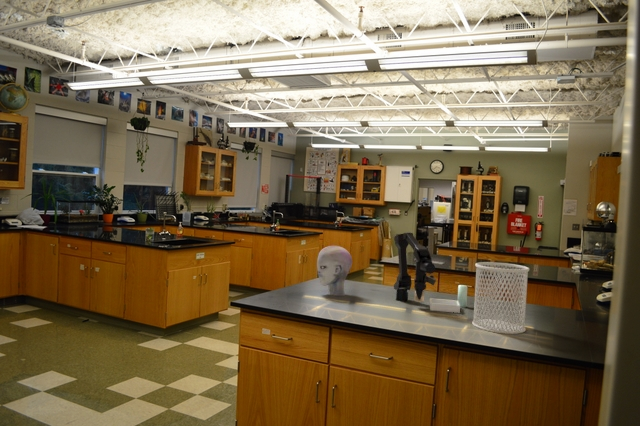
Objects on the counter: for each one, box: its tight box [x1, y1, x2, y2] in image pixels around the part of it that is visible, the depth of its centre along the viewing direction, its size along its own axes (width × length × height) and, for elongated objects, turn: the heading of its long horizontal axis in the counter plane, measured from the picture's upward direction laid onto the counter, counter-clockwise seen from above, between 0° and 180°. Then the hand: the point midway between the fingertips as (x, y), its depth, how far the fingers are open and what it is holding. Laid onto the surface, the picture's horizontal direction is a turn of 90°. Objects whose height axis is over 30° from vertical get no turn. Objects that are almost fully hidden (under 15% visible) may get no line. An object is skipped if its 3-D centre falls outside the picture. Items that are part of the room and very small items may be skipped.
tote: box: [429, 297, 461, 314], centre depth 262 cm, size 16×14×4 cm
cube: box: [414, 290, 425, 303], centre depth 261 cm, size 5×5×5 cm
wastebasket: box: [471, 261, 530, 335], centre depth 228 cm, size 25×25×30 cm
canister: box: [457, 284, 468, 308], centre depth 270 cm, size 5×5×12 cm
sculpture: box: [316, 245, 353, 296], centre depth 288 cm, size 22×20×30 cm
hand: (419, 298), depth 261 cm, fingers closed on cube, 5 cm apart
